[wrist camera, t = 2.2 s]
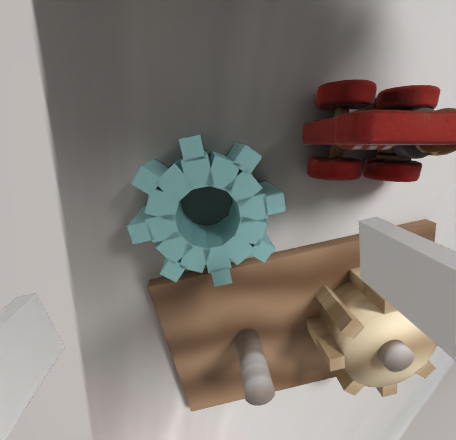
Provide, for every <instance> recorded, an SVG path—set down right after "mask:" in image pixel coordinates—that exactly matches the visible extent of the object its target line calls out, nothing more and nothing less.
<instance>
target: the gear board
mask: <svg viewBox="0 0 456 440" xmlns="http://www.w3.org/2000/svg"><path fill="white" fill-rule="evenodd" d="M397 226H399V227H401V228H403V229H405V230H408V231H410V232H412V233H414V234H417V235H419V236H421V237H424V238H426V239H428V240H430V241H433V242H434V240H435V229H436V223H434V222H432V221H429V220H426V219H424V220H420V221H415V222H411V223H406V224H402V225H397ZM231 267H232V268H230V269H229V270H230V274H231V279H232V283H230V284H226V285H222V286H217V287H215V286H214V282H213V278H212V274H211V273H208V269H207V268H204V270H203V273H200V272H196V271H189V272H185V273H182V275H181V276H180V278H179V279H178V281H177V282H174V281H172V280H170V279H168V278H166V277H162V278H158V279H153V280H150V282H149V285H148V290H149V292H150V295H151V298H152V301H153V304H154V307H155V310H156V312H157V315H158V318H159V321H160V324H161V327H162V330H163V332H164V335H165V338H166V341H167V344H168V347H169V350H170V352H171V355H172V358H173V361H174V364H175V367H176V369H177V372H178V375H179V378H180V381H181V384H182V387H183V389H184V392H185V395H186V398H187V401H188V404H189V407H190V409H191V411H196V410H200V409H204V408H208V407H212V406H216V405H220V404H225V403H229V402H233V401H237V400H241V399H246V401H247V402H248V403H250V404H252V405H263V404H266V403H268V402H270V401H271V400H272V399H273V397H274V395H275V391H279V390H283V389H287V388H291V387H295V386H299V385H303V384H308V383H312V382H316V381H320V380H324V379H328V378H332V377H337V379H338V381H339V382H340V384H341V386H342V388H343V390H344V391H346V392H348V393H351V394H353V395H356V394H357V393H358V392H359V391H360V390H361V389H362V388H363V387H364V386H368V387H376V388H377V390H378V391H379V392H380V394H381V395H382V397H385V396H389V395H393V394H397V383H399V382H402V381H404V380H406V379H408V378H409V377H411V376H413V375H414V374H415V373H416V374H418V375H420V376H422V377H424V378H426V377H427V376H428V375H429V374H430V373H431V372H432V371H433V370H434V369H436V368H435V367H434V366H433V365H432V364H431V363H430V362H429V359H430V358H431V356H432V355H433V353H434V351H435V348H436V346H438V345H437V344H436V343H435V342H433V341H432V340H431V339H430V338H429V337H428V336H427V335H425V334H424V333H423V332H422V331H421V330H420V329H418V328H417V327H416V326H415V325H414V324H413V323H411V322H410V321H409V320H408V319H407V318H406V317H405V316H403V315H402V314H401V313H400V312H399V311H398V310H396V309H395V308H394V307H393V306H392V305H391V304H390V303H388V302H387V301H386V300H385V299H384V298H383V297H381V296H380V295H379V294H378V293H377V292H376V291H374V290H373V289H372V288H371V287H370V286H369V285H368V284H366V283H365V282H364V281H363V280H362V279H361V278H360V243H359V234H357V235H352V236H348V237H343V238H339V239H334V240H329V241H325V242H320V243H316V244H311V245H307V246H302V247H298V248H293V249H289V250H284V251H280V252H275V253H272V254H271V255H270V256H269V258H268V259H267V260H266V262H265V263H264V262H262V261H261V260H259V259H257V258H255V257H253V258H248V259H245V260H243V261H242V262H241V263H240V264H238V265H236V264H235V263H234V262H231Z"/></svg>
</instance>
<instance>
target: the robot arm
mask: <svg viewBox="0 0 456 440" xmlns="http://www.w3.org/2000/svg"><path fill="white" fill-rule="evenodd" d="M359 243H360V278H361V279H362V280H363V281H364V282H365V283H366V284H368V285H369V286H370V287H371V288H372V289H373V290H374V291H376V292H377V293H378V294H379V295H380V296H381V297H383V298H384V299H385V300H386V301H387V302H388V303H390V304H391V305H392V306H393V307H394V308H395V309H396V310H398V311H399V312H400V313H401V314H402V315H403V316H405V317H406V318H407V319H408V320H409V321H410V322H411V323H413V324H414V325H415V326H416V327H417V328H418V329H420V330H421V331H422V332H423V333H424V334H425V335H427V336H428V337H429V338H430V339H431V340H432V341H433V342H435V343H436V344H437V345H438V346H439V347H440V348H442V349H443V350H444V351H445V352H446V353H447V354H448V355H450V356H451V357H452V358H453V359H454V360H455V361H456V252H455V251H453V250H451V249H449V248H446V247H444V246H442V245H439V244H437V243H435V242H433V241H430V240H428V239H426V238H424V237H421V236H419V235H417V234H414V233H412V232H410V231H408V230H405V229H403V228H401V227H399V226H396V225H394V224H392V223H389V222H387V221H385V220H383V219H380V218H378V217H374V218H370V219H365V220H361V221H359ZM64 348H65V347H64V345H63V343H62V341H61V339H60V337H59V335H58V334H57V332H56V330H55V328H54V326H53V324H52V322H51V320H50V318H49V316H48V314H47V312H46V311H45V308H44V306H43V304H42V303H41V301H40V299H39V297H38V295H37V293H34V294H30V295H26V296H21V297H17V298H15V300H13V301H12V302H11V303H10V304H8V305H7V306H6V307H5V308H4V309H3V310H2V311H0V440H5V439H6V438H7V436H8V434H9V433H10V431H11V430H12V428H13V427H14V425H15V424H16V422H17V421H18V419H19V417H20V416H21V414H22V413H23V411H24V410H25V408H26V407H27V405H28V403H29V402H30V400H31V399H32V397H33V396H34V394H35V393H36V391H37V390H38V388H39V386H40V385H41V383H42V382H43V380H44V379H45V377H46V375H47V374H48V373H49V371H50V369H51V368H52V366H53V365H54V363H55V362H56V360H57V358H58V357H59V355H60V354H61V352H62V351H63V349H64Z"/></svg>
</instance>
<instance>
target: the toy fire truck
mask: <svg viewBox="0 0 456 440" xmlns="http://www.w3.org/2000/svg"><path fill="white" fill-rule="evenodd" d="M376 89H377V88H376V84H375V83H374V82H372V81H369V80H342V81H335V82H330V83H326V84H323V85H321V86H319V88H318V90H317V96H316V106H317V107H318V108H319V109H325V110H336V111H335V115H334V117H333V118H328V119H323V120H318V121H313V122H308V123H305V124H304V125H303V136H302V141H303V143H304V144H306V145H331V147H330V153H329V157H311V158H310V159H309V161H308V170H307V173H308V175H309V176H310V177H313V178H318V179H325V180H355V179H358V178H359V177H360V176H361V172H362V166H363V162H362V160H360V159H357V158H351V157H342V154H343V149H347V150H352V149H357V150H377V155H376V158H375V159H368V160H366V162H365V166H364V171H363V175H364V176H365V177H366V178H369V179H375V180H384V181H393V182H412V181H417V180H418V178H419V176H420V172H421V168H422V164H421V163H420V162H417V161H411V158H414V159H417V158H423V157H425V156H427V155H436V156H438V155H445V154H449V153H451V152H454V151H456V109H454V108H445V109H440V110H436V111H435V110H433V109H434V108H435V107H436V106H437V103H438V99H439V95H440V89H439V88H438V87H436V86H431V85H411V86H402V87H395V88H390V89H386V90H383V91H381V92H380V93H379V94H378V96H377V102H376V110H364V111H356V112H351V113H349V109H360V108H365V107H368V106H369V105H372V104H373V103H374V101H375V95H376Z"/></svg>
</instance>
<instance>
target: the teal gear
mask: <svg viewBox="0 0 456 440" xmlns="http://www.w3.org/2000/svg"><path fill="white" fill-rule="evenodd" d="M179 143H180V147H181V151H182V156H183V158H182V159H181V158H179V159H178V160H177V161H176V162H175V163H174V164H173V165H172V166H171V167H170V168H168V167H166V166H165V165H163V164H162V163H160V162H158V161H157V160H155V159H154V160H152V161H150V162H148V163H146V164H144V165H142V166H141V167H140V168H139V170H138V172H137V174H136V175H135V177H134V179H133V181H132V182H131V185H133V186H135V187H136V188H138V189H140V190H141V191H143V192H145V193H146V194H148V195H149V197H148V201H147V205H146V206H144V207H142V208H141V209H140V211H139V212H138V213H137V214H136V216H135V217H134V218H133V219H132V220H131V222H130V223H129V224H128V225H127V228H128V231H129V234H130V237H131V240H132V243H133V244H138V243H142V242H147V241H152V243H155V242H158V244H157V246H156V249H157V250H158V251H159V252H160V253H161V254H163V255H164V256H165V258H164V261H163V265H162V268H161V271H160V275H162V276H164V277H166V278H168V279H170V280H172V281H174V282H177V281H178V279H179V278H180V276H181V275H182V273H183V272H184V270H185V269H188V270H192V271H196V272H200V273H203V270H204V267H205V265H207V269H208V273H211V274H212V278H213V282H214V286H215V287H217V286H222V285H226V284H230V283H232V279H231V274H230V270H229V269H230V268H232V267H231V262H230V259H231V260H232V261H233V262H234V263H235V264H236V265H238V264H240V263H241V262H242V261H243V260H245V259H246V258H247V257H248V256H249V255H252V256H254V257H255V258H257V259H259V260H261V261H262V262H264V263H265V262H266V260H267V259H268V258H269V256H270V255H271V254H272V252H273V251H274V250H275V247H274V246H273V244H272V243H271V241H270V240H269V238H268V237H267V235H266V233H265V230H266V228H267V225H268V223H267V222H266V221H265V219H266V218H269V216H268V215H272V214H277V213H281V212H286V208H285V199H284V193H283V192H282V191H280V190H279V189H278V188H276V187H275V186H273V185H272V184H270V183H269V182H267V181H263V182H257V180H256V179H255V178H254V177H253V176H252V174H251V173H252V171H253V170H254V168H255V167H256V166H257V164H258V163H259V161H260V160H261V158H262V156H261V155H259V154H258V153H257V152H255V151H254V150H253V149H251V148H250V147H248V146H247V145H246V144H241V143H235V144H234V146H233V147H232V149H231V150H230V152H229V153H228V155H227V156H225V155H222V154H219V153H216V152H213V151H212V152H211V155H210V158H208V154H207V151H204V149H203V144H202V140H201V135H196V136H191V137H186V138H182V139H179ZM207 186H212V187H215V188H218V189H221V190H224V191H227V192H228V193H229V194H230V195H231V197H232V202H233V203H232V206H231V208H230V211H229V214H228V215H227V216H226V217H225V218H224V219H223V220H221V221H220V222H219V223H216V224H212V225H207V226H204V225H201V224H197V223H194V222H192V221H191V220H190V219H189V218H188V217H187V216H186V215H185V214H184V213H183V209H182V205H181V201H180V200H181V199H182V198H183V197H185V196H186V195H187V194H188V193H189V192H190V191H191V190H192V189H197V188H202V187H207Z"/></svg>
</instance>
